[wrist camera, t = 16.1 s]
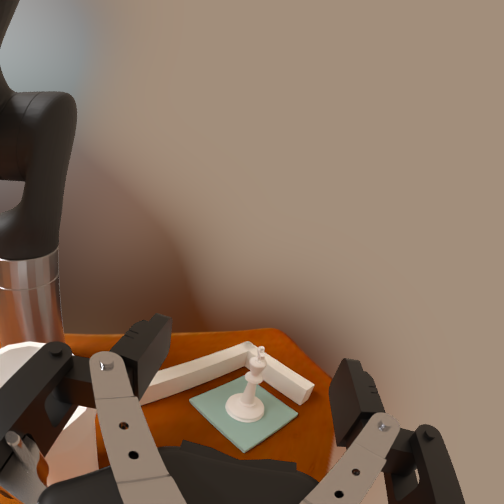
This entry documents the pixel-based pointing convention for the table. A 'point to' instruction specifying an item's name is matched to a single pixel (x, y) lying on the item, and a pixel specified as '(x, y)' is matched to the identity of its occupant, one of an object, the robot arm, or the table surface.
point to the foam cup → (74, 433)
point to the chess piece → (249, 393)
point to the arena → (233, 392)
